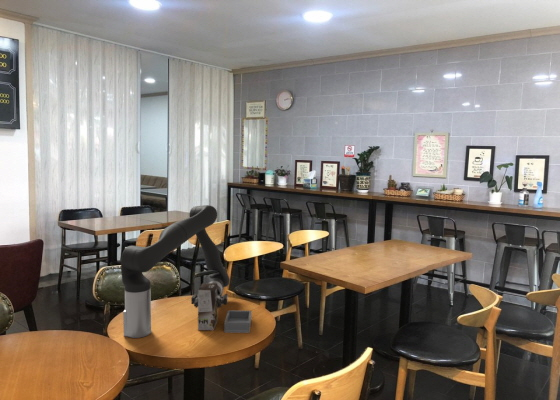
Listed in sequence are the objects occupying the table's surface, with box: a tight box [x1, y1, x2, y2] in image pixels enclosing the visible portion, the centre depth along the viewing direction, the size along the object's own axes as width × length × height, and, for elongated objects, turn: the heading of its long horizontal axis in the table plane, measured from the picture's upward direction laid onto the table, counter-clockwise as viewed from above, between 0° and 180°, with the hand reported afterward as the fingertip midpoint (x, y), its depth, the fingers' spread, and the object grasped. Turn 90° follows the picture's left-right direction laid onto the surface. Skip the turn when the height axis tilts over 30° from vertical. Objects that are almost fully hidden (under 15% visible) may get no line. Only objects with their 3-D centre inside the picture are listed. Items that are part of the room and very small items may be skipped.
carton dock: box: [223, 309, 252, 334], centre depth 174 cm, size 10×13×4 cm
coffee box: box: [197, 282, 218, 331], centre depth 173 cm, size 9×6×16 cm
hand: (207, 305), depth 171 cm, fingers open, 8 cm apart
